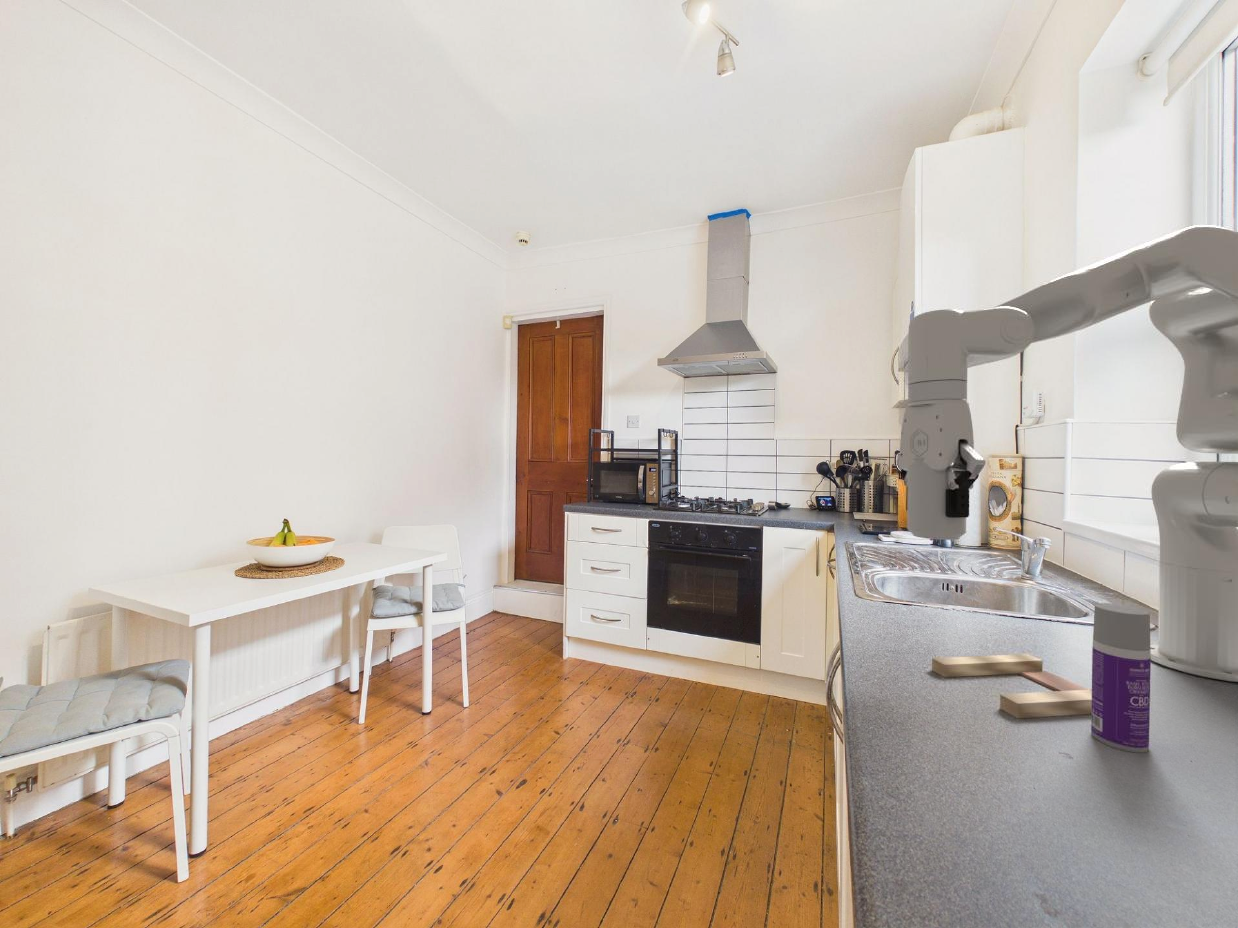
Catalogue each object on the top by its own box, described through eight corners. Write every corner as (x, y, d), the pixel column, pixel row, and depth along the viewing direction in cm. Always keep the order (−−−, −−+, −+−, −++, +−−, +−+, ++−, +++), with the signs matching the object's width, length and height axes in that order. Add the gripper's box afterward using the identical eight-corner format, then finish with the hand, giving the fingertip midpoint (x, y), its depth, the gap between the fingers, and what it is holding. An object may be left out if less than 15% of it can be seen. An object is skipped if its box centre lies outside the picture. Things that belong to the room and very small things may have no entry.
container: (1138, 757, 55) (1141, 617, 54) (1083, 735, 59) (1085, 605, 59) (1156, 745, 57) (1158, 611, 57) (1101, 726, 61) (1103, 600, 61)
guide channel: (1027, 665, 79) (1027, 653, 79) (1131, 711, 65) (1131, 697, 65) (931, 669, 77) (932, 658, 77) (1017, 718, 63) (1017, 703, 63)
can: (974, 541, 72) (975, 456, 72) (915, 539, 74) (916, 456, 74) (954, 534, 79) (955, 456, 79) (901, 532, 81) (901, 456, 81)
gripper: (877, 402, 85) (876, 508, 85) (959, 387, 67) (958, 521, 67) (918, 403, 85) (918, 508, 86) (1010, 388, 68) (1009, 520, 68)
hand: (935, 513), depth 77 cm, fingers closed on can, 7 cm apart
